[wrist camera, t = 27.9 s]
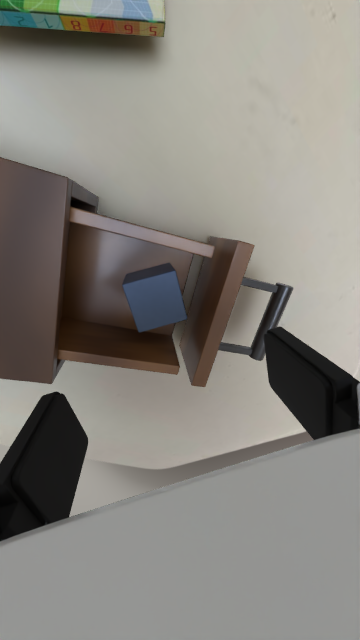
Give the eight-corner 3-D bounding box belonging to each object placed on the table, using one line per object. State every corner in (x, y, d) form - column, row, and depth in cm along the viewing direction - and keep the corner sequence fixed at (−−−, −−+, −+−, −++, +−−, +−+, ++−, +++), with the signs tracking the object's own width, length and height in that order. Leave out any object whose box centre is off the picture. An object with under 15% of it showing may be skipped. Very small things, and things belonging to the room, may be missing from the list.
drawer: (275, 254, 23) (326, 265, 16) (237, 354, 26) (266, 394, 20) (65, 195, 18) (25, 179, 12) (55, 325, 22) (20, 365, 16)
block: (180, 303, 22) (187, 319, 18) (139, 315, 22) (138, 333, 18) (169, 262, 20) (175, 270, 17) (125, 274, 20) (121, 284, 16)
